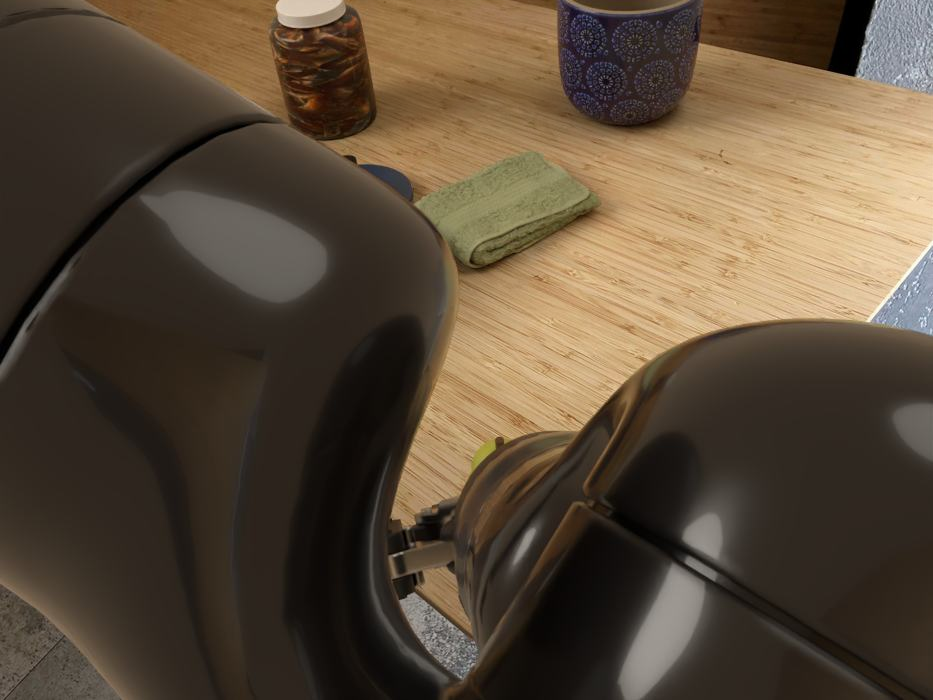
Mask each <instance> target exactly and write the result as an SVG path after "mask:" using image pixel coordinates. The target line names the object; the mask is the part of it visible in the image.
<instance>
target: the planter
mask: <svg viewBox="0 0 933 700" xmlns="http://www.w3.org/2000/svg"><path fill="white" fill-rule="evenodd" d="M704 2H705V1H704V0H556V34H557V55H558V68H559V76H560V82H561V86H562V89H563V92H564V94H565V96H566V97H567V99H568V101H569V102H570V103H571V104H572V106H573V107H574V108H575V109H576V110H577V111H579V112H580V113H581V114H582V115H584V116H586V117H587V118H589V119H592V120H593V121H596V122H599V123H603V124H606V125H607V124H608V125H614V126H634V125H641V124H645V123H649V122H651V121H655V120H658V119H659V118H662V117H664V116H665V115H667V114H668V113H669V112H671V111H672V110H674V108H676V107H677V105H678V104H679V103H680V102H681V101H682V100H683V99H684V97H685V96H686V94H687V93H688V92H689V89H690V86H691V84H692V81H693V77H694V74H695V69H696V64H697V58H698V51H699V45H700V39H701V38H700V37H701V29H702V22H703V21H702V20H703V11H704Z"/></svg>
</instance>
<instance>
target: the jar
mask: <svg viewBox="0 0 933 700" xmlns="http://www.w3.org/2000/svg"><path fill="white" fill-rule="evenodd" d="M275 11H276V15H275V16H274V17H273V19H271V21H270V22H269V25H268V39H269V43H270V49H271V53H272V57H273V61H274V66H275V69H276V74H277V78H278V82H279V86H280V90H281V94H282V99H283V103H284V107H285V111H286V114H287V117H288V121H289V125H290V126H291V127H293V128H295V129H297V130H299V131H302V132H304V133H306V134H307V135H309V136H311V137H312V138H314V139H316V140H317V141H319V140H322V141H323V140H325V141H326V140H327V141H329V140H336V139H343V138H346V137H349V136H352V135H355V134H357V133H359V132H361V131H363V130H365V129H367V128H368V127H369V126H370V125H371V124H372V123H373V122H374V121H375V120H376V117H377V113H378V109H377V101H376V95H375V88H374V84H373V83H374V82H373V77H372V72H371V71H372V70H371V65H370V61H369V53H368V49H367V43H366V39H365V33H364V28H363V24H362V20H361V17H360V14H359V12H358V11H357V9H356V8H354V7H353V6H351V5H349V4H346V3H345V0H278V1H277V3H276V4H275Z"/></svg>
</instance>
